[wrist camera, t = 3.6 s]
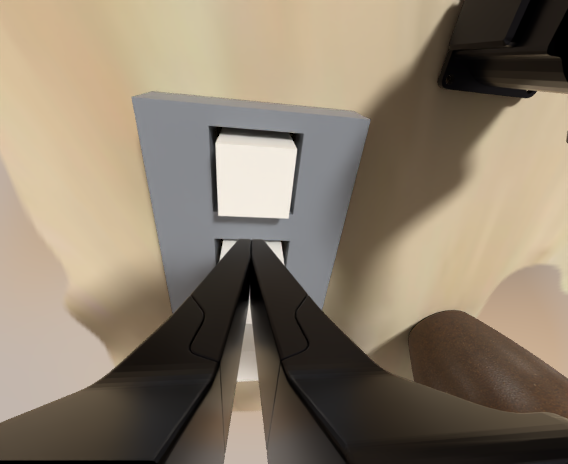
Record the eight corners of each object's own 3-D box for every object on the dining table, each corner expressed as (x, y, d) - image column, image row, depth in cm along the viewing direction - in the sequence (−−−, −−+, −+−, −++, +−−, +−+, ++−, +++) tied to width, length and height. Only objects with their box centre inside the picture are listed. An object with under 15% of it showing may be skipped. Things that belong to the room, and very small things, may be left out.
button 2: (288, 131, 16) (297, 149, 13) (282, 190, 19) (288, 218, 15) (223, 126, 16) (215, 143, 13) (225, 187, 18) (218, 215, 15)
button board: (353, 111, 16) (370, 119, 14) (305, 326, 28) (310, 353, 25) (152, 91, 15) (131, 97, 12) (187, 328, 26) (180, 356, 24)
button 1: (273, 307, 22) (276, 350, 19) (270, 336, 24) (272, 380, 21) (225, 307, 22) (220, 351, 19) (226, 337, 24) (221, 382, 21)
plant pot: (409, 278, 25) (584, 521, 12) (535, 287, 28) (798, 496, 14) (359, 366, 33) (430, 573, 20) (461, 367, 35) (586, 551, 22)
